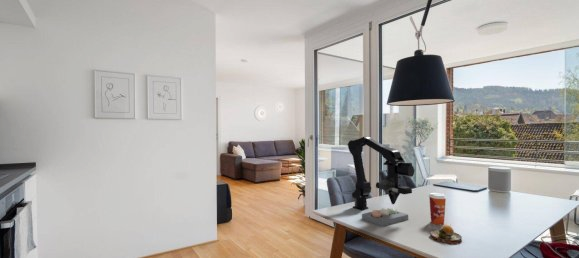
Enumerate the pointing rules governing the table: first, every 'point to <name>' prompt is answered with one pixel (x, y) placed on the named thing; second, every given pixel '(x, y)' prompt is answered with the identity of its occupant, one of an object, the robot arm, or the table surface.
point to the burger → (446, 235)
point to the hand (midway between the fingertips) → (393, 204)
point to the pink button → (376, 214)
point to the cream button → (384, 211)
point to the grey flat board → (385, 218)
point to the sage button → (393, 211)
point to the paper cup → (437, 208)
